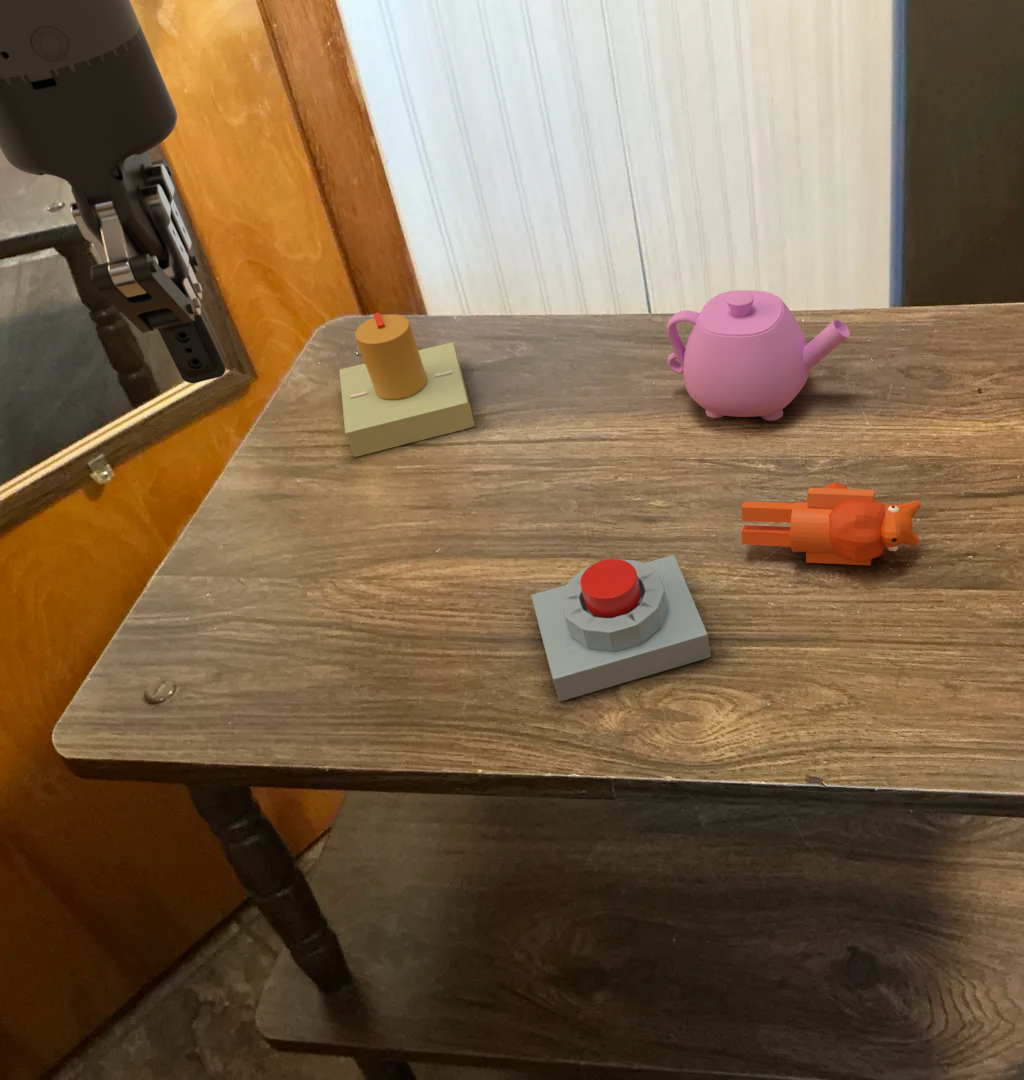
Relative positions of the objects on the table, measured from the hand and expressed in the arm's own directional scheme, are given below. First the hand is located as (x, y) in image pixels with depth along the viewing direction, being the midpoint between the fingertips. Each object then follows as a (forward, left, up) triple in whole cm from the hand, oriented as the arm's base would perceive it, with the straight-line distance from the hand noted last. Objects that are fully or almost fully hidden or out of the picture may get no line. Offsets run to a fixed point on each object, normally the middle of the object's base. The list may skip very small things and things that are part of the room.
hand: (207, 373), depth 61 cm
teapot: (+35, +17, -23) cm, 45 cm away
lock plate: (+7, +28, -23) cm, 37 cm away
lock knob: (+7, +28, -20) cm, 35 cm away
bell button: (+18, -5, -19) cm, 27 cm away
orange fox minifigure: (+34, -2, -23) cm, 41 cm away
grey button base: (+18, -5, -23) cm, 30 cm away
